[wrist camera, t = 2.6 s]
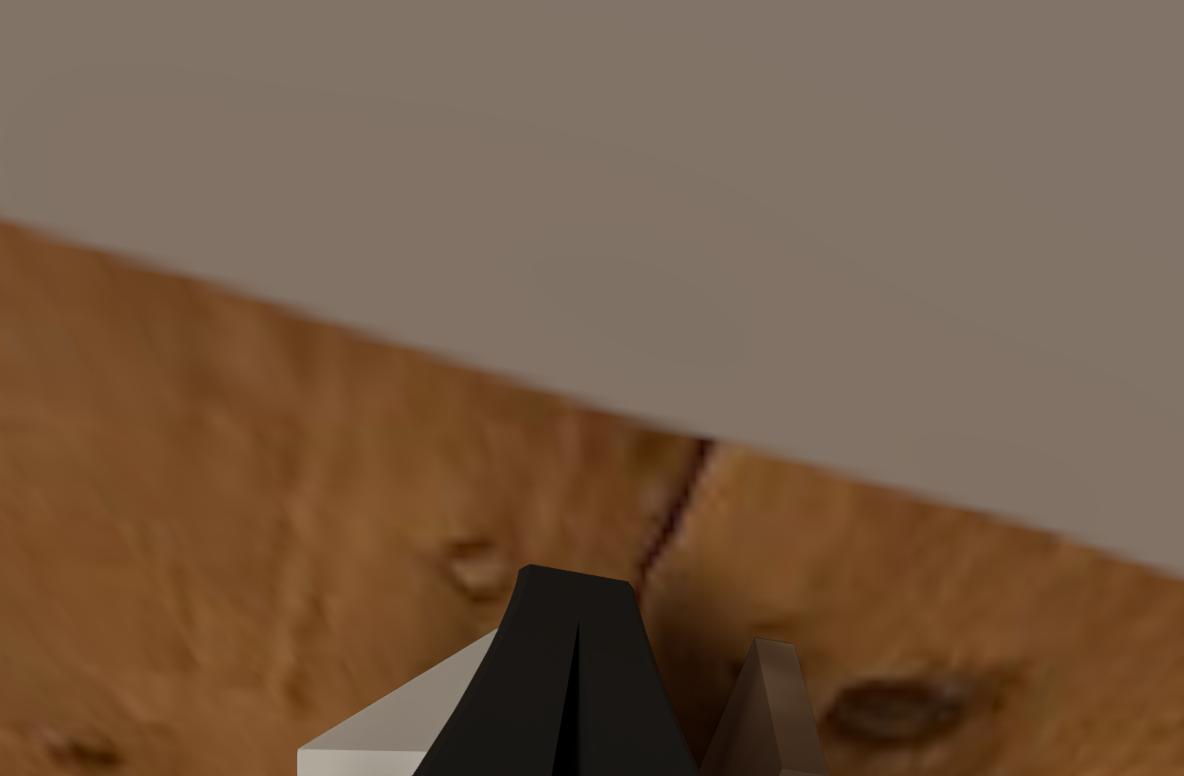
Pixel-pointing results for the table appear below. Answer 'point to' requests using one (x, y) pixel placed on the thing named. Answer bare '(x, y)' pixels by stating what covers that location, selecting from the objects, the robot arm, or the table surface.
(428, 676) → the die
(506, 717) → the robot arm
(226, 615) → the table surface
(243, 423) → the table surface
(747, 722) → the wooden l-shaped bracket
